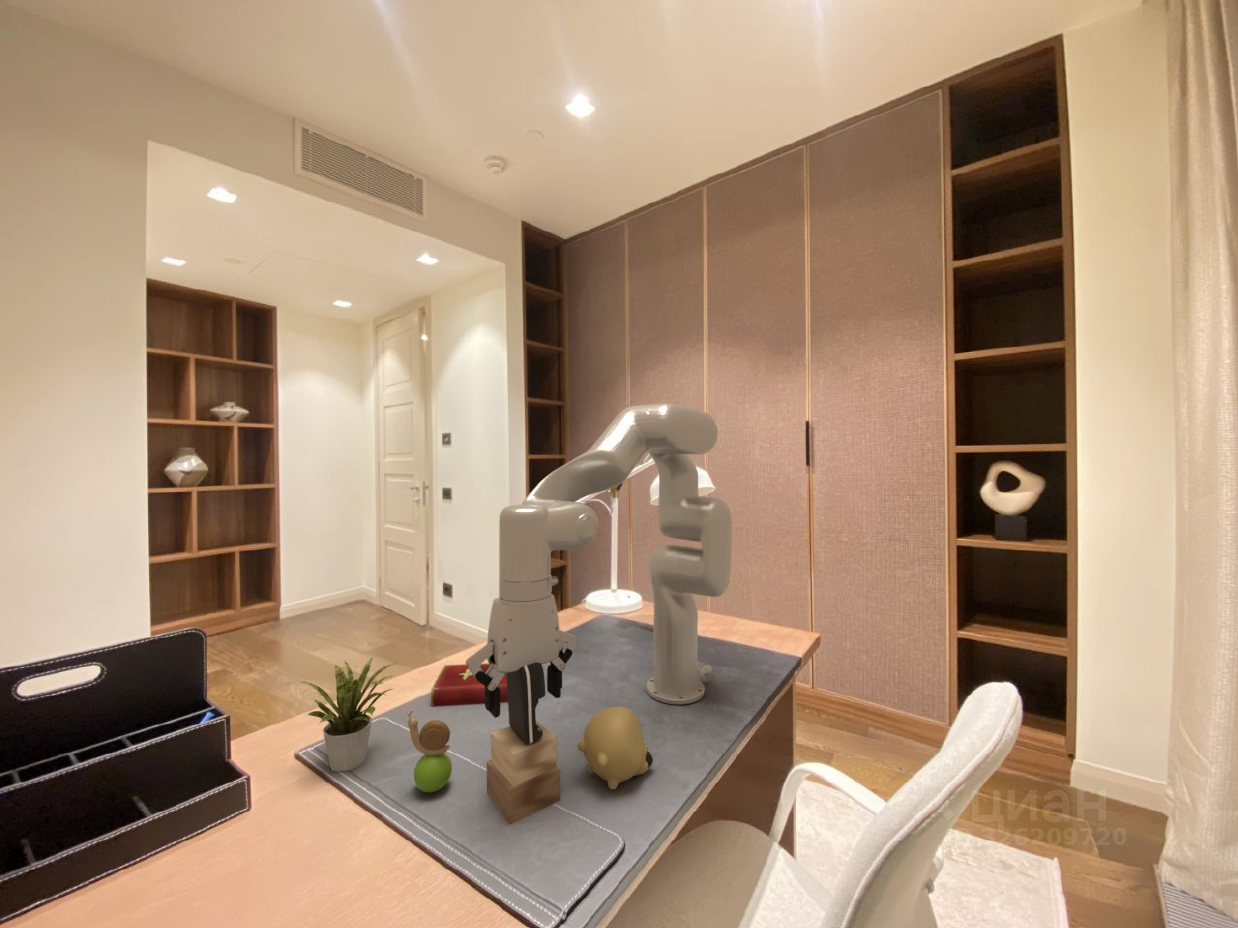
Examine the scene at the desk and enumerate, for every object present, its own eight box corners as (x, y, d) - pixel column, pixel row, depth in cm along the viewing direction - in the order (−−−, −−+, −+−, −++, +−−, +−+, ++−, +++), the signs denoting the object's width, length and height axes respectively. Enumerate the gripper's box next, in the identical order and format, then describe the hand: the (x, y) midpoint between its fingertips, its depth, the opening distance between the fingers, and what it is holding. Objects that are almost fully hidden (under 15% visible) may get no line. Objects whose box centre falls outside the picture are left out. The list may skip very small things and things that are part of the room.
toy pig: (636, 813, 75) (674, 748, 80) (596, 777, 69) (639, 710, 74) (597, 778, 82) (634, 721, 87) (558, 743, 77) (600, 684, 82)
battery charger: (550, 737, 72) (547, 661, 71) (526, 747, 70) (522, 668, 69) (530, 716, 78) (527, 645, 77) (507, 725, 76) (504, 652, 75)
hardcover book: (536, 703, 102) (536, 682, 102) (431, 709, 100) (431, 688, 100) (538, 677, 114) (538, 659, 114) (444, 682, 112) (444, 663, 112)
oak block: (532, 745, 78) (532, 717, 78) (556, 767, 73) (556, 736, 73) (491, 762, 74) (491, 732, 74) (513, 786, 68) (513, 754, 68)
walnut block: (534, 774, 79) (534, 743, 79) (560, 802, 72) (560, 768, 72) (486, 794, 74) (486, 761, 74) (509, 826, 68) (509, 790, 68)
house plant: (421, 746, 86) (421, 653, 86) (354, 798, 73) (355, 688, 73) (358, 731, 90) (358, 643, 90) (285, 777, 77) (285, 674, 77)
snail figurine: (413, 778, 77) (413, 702, 77) (455, 776, 78) (455, 700, 78) (401, 802, 72) (401, 720, 72) (446, 799, 72) (446, 718, 72)
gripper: (563, 575, 81) (563, 679, 81) (458, 592, 71) (458, 710, 71) (588, 585, 75) (587, 697, 75) (476, 604, 65) (476, 733, 65)
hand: (524, 703), depth 73 cm, fingers open, 9 cm apart
